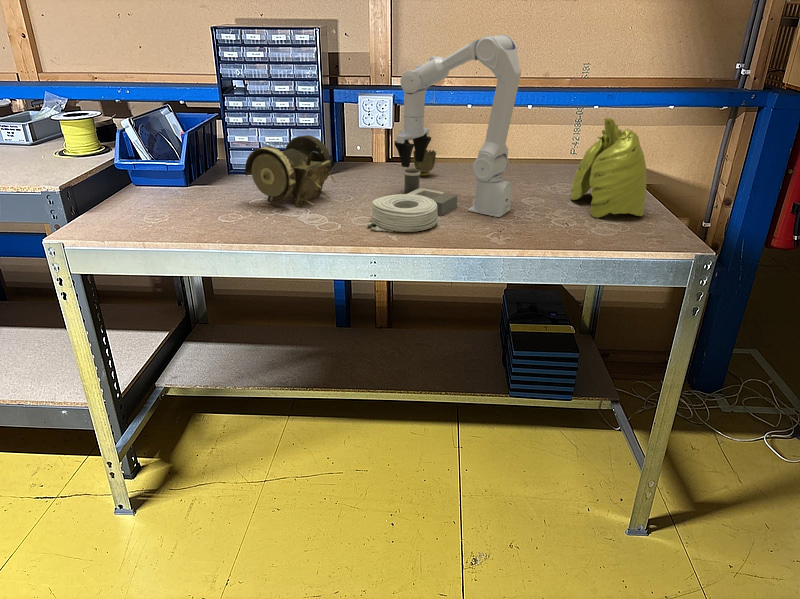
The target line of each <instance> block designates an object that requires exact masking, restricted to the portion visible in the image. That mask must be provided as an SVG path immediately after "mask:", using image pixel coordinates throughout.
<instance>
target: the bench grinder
mask: <svg viewBox="0 0 800 599" xmlns="http://www.w3.org/2000/svg"><path fill="white" fill-rule="evenodd" d="M331 169H332V158H331V155H330V152H329V149H328V148H327V146H326V145H325V143H323V141H322V140H320V139H319V138H317V137H316V136H313V135H309V134H307V135H299V136H296V137H293V138H292V139H291V140H289V142H287V145H286V146H285V150H280V149H279V148H277V147H274V146H271V145H270V146H269V145H267V146H266V145H265V146H261V147H259V148H257V149H255V150H253V151H251V153H250V154H249V155H248V157H247V158H246V162H245V167H244V175H245V176H249V175H251V176H252V180H253V182H254V185H255V186H256V187H257V189H258V190H259V191H260V192H261V193H262V194H263V195H265V196H268V197H267V201H268V203H270V204H272V203H273V204H277V203H279V202H282V201H286V200H288V199H289V198H290V197H291V196H293V198H294V202H293V205H294V206H295V207H299V206H301V205H303V204H302V203H304V202H306V203H308V204H310V205H312V206H315V203H312V202H311V201H312V200H314V199H315V197H316V198H318V197H320V195H321V193H322V194H323V195H325V196H326V198H330V196H329V195H328V194H327V193H326V192H325V191H323V187H324V183H325V181H326V180H327V179H328V178H329V176H330V178H331V179H332V181H333V182H334V183H335V182H336V180H335V178H334V176H332V174H331ZM317 196H318V197H317ZM313 198H314V199H313ZM311 199H312V200H311ZM309 200H310V201H309ZM300 204H301V205H300ZM304 204H305V203H304ZM298 205H299V206H298Z"/></svg>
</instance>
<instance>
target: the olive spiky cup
mask: <svg viewBox="0 0 800 599" xmlns="http://www.w3.org/2000/svg"><path fill="white" fill-rule="evenodd" d="M412 154H413V163H414V164H413V165H414V169H419V170H420V178H428V177H429V176H430V172H431V171H432V170H433V169H434V167H435V163H436V157H437V152H436V151H435V150H434V149H433V150H431V149H429V151H428V149H426V152H425V155H424V159H423V162H418V161H416V160H415V150H412Z"/></svg>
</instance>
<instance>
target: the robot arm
mask: <svg viewBox="0 0 800 599" xmlns="http://www.w3.org/2000/svg"><path fill="white" fill-rule="evenodd" d="M518 47H519V46H518V45H517V44H516V43H515V41H514V39H513V38H512V37H511V36H509V35H508V34H500V35H485V36H482V37H481V38H478V39H475V40H473V41H471V42H469V43H468V44H466V45H464V46H462V47H461V48H459V49H458V50H456V51H455V52H453V53H451V54H449V55H447V56H446V57H445V58H444V57H441V56H431V57H429V58H428V61H427V62H425V63H424V64H417V65H416V66H415V69H414V70H412V69H409V70H407V69H406V71H405V72H403V74H402V75H401V78H400V81H399V82H400V87H401V90H402V91H403V129H402V130H401V129H400V131H399V132H400V133H399V134H398V135H396V140H395V141H394V146H395V148H396V150H397V152H398V155H399V160H400V163H401V167H402V168H406V169H409V167H410V165H411V159H412V158H411V157H412V154H413V151H415V160H416V161H418V162H423V159H424V155H425V152H426V149H427V148H428V147H429V144H430V143H431V142H432V137H431V136H429V135H430V128H428V127H424V126H425V105H426V104H425V100H426V99H425V98H426V95H427V94H426V93H427V90H428V89H429V87H431V86H432V85H435V84H437V83H438V82H441V81H442V80H445V79H446V78H448V76H449V73H450V71H451V70H453V69H455V68H458V67H459V66H462V65H464V64H466V63H467V62H470V61H479V62H480V63H481V64H482V65H483V66H485V67H486V68H487V69H489V71H491V72H492V73H493V75H494V76H495V77H496V79H497V81H496V86H495V92H494V96H493V101H492V106H491V111H490V115H489V121H488V125H487V130H486V136H485V139H484V143H483V145H481V147H480V149H479V150H478V154H477V157H476V158H475V160H474V161H473V164H472V173H473V175H474V176H475V188H474V189H475V190H474V201H473V205H472V206H471V207H469V208H468V209H467V211H468V212H471V213H475V214H481V215H485V216H491V217H496V218H500V217H502V216H504V215H505V214H507V213H508V212H510V211H511V202H512V192H513V191H512V190H513V186H512V183H511V182H510V181H508V180H507V181H506V180H504V173H505V172H506V171H507V169H508V168H509V164H510V163H509V158H508V157H509V156H508V154H509V147H508V146H507V144H506V143H507V138H508V135H509V134H508V133H509V130H510V126H511V121H512V116H513V112H514V108H515V107H514V106H515V103H516V98H517V93H518V90H519V86H520V85H519V84H520V82H521V75H522V72H521V66H520V62H519V57H518ZM411 140H412V143H410V141H411ZM427 150H428V149H427Z"/></svg>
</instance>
